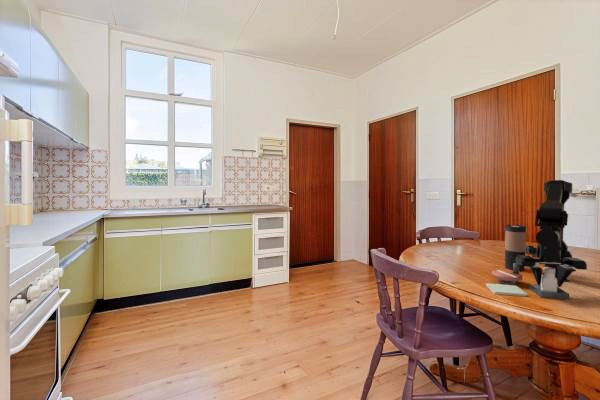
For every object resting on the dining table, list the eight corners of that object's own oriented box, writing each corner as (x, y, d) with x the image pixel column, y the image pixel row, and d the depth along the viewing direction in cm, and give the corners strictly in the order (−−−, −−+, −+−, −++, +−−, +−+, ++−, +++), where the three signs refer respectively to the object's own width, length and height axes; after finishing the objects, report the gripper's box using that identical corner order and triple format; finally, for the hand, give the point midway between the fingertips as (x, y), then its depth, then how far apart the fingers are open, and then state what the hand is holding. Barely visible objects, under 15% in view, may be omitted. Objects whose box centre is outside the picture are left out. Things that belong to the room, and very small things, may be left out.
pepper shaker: (542, 295, 102) (542, 268, 102) (540, 291, 106) (541, 265, 105) (557, 297, 100) (557, 270, 99) (555, 293, 103) (555, 267, 103)
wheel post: (512, 280, 118) (512, 275, 118) (518, 285, 112) (518, 280, 112) (495, 279, 119) (495, 274, 119) (500, 284, 114) (500, 279, 114)
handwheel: (529, 280, 111) (529, 267, 111) (504, 281, 110) (505, 268, 110) (508, 272, 121) (508, 260, 121) (485, 273, 120) (486, 261, 120)
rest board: (516, 287, 110) (516, 285, 110) (527, 296, 101) (527, 294, 101) (486, 285, 113) (486, 283, 112) (494, 293, 104) (494, 291, 104)
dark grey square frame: (555, 291, 105) (555, 285, 105) (569, 299, 98) (569, 293, 98) (529, 289, 108) (529, 284, 108) (541, 297, 100) (541, 291, 100)
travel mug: (519, 272, 129) (520, 227, 128) (501, 267, 135) (501, 225, 134) (528, 269, 132) (529, 226, 131) (510, 265, 139) (511, 224, 138)
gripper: (568, 239, 107) (566, 280, 108) (509, 237, 112) (508, 277, 113) (588, 245, 96) (587, 291, 97) (523, 242, 101) (521, 286, 102)
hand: (548, 285), depth 103 cm, fingers open, 6 cm apart
